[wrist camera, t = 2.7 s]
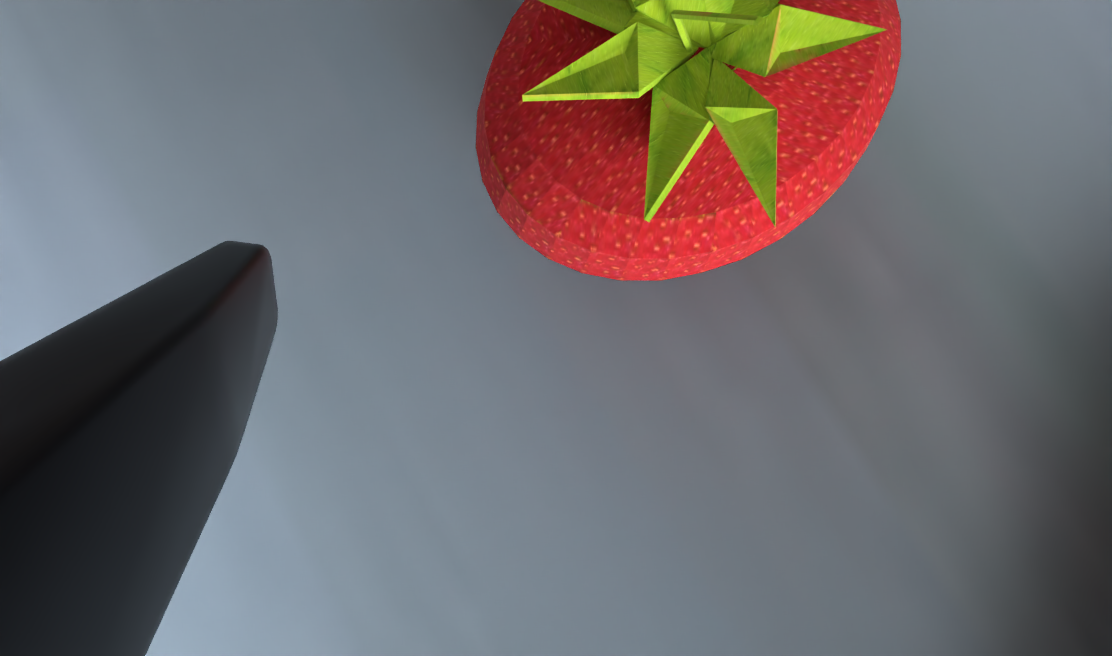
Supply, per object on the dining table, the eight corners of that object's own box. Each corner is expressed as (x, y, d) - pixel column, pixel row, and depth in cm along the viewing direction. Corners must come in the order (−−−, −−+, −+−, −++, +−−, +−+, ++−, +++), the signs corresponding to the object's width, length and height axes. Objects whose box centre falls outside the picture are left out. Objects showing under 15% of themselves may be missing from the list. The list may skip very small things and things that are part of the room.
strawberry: (859, 196, 21) (1140, -7, 11) (581, 375, 20) (610, 332, 11) (716, -14, 21) (860, -390, 11) (441, 157, 21) (342, -82, 11)
